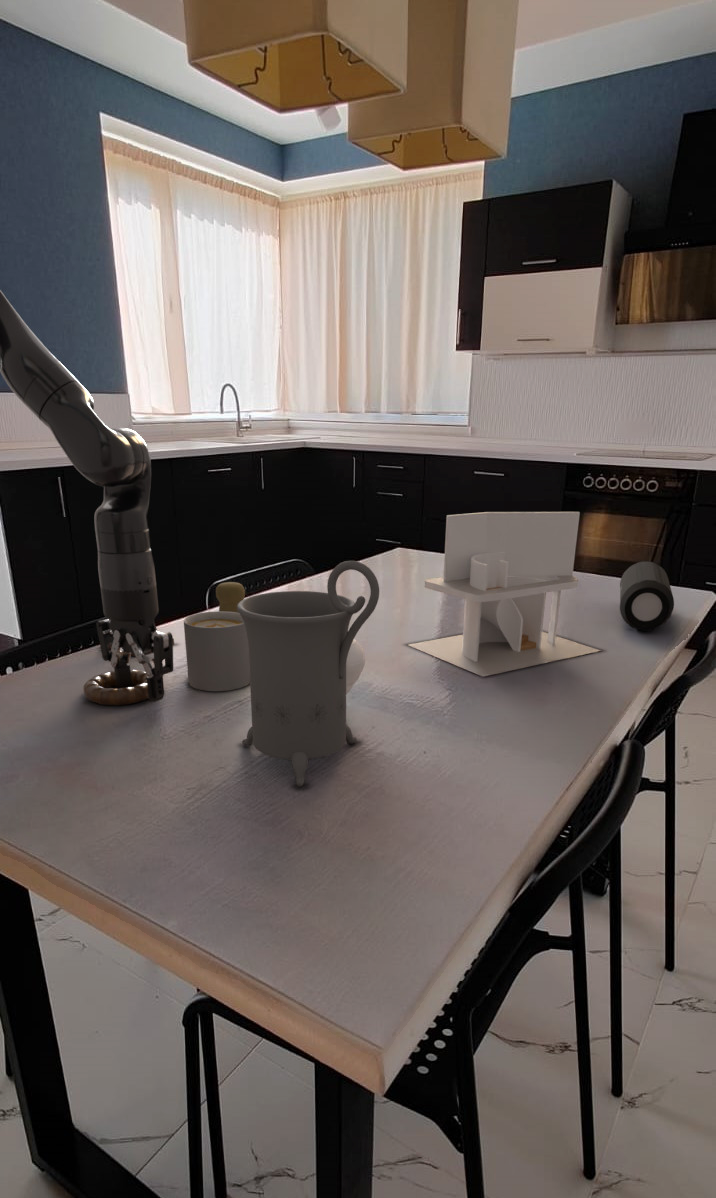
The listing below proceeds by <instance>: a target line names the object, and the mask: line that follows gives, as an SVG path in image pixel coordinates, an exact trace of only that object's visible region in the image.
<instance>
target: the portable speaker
mask: <svg viewBox="0 0 716 1198" xmlns="http://www.w3.org/2000/svg"><path fill="white" fill-rule="evenodd" d="M674 607H675V599H674V595H673V592H672V588H671V584H670V580H669V577H668V574H667V572H666V570H665V569H664V568H663V567H662V566H660V565H659V564H657V563H655V562H653V561H647V560H646V561H644V560H643V561H639V562H636V563H633V564H632V565H630V566H629V567H628V568H627V569H625V571H624V572H623V574H622V575H621V578H620V580H619V612H620V615H621V618H622V620H623V621H624V622H625V623H626V624H627V625H628V626H629V627H631V628H633V629H635V630H636V631H643V632H645V631H646V632H649V631H653V630H656V629H658V628H660V627H662V626H663V625H665V624H666V623H667V622H668V620H669V619H670V618H671V616H672V614H673V611H674Z"/></svg>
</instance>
